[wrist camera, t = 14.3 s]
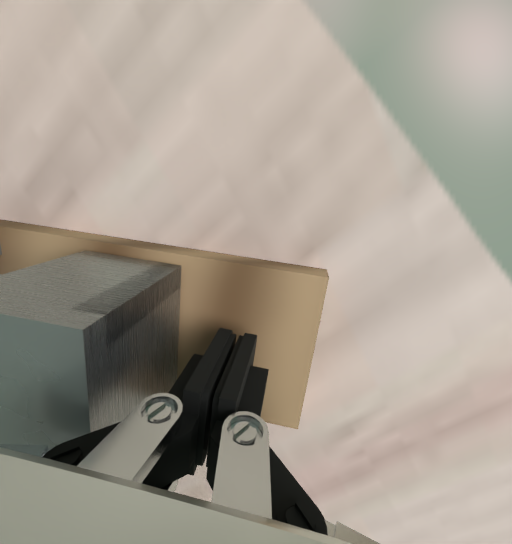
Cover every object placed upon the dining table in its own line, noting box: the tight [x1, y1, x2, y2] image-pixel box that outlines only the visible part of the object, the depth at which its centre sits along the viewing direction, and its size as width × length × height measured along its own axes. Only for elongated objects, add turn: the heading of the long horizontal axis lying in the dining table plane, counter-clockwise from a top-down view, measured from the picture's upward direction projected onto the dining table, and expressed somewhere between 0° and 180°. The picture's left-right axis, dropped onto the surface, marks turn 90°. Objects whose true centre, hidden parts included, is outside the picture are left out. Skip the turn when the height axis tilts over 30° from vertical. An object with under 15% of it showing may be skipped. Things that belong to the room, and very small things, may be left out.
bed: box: [0, 220, 329, 429], centre depth 12 cm, size 20×8×6 cm, turn 83°
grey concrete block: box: [0, 250, 181, 449], centre depth 11 cm, size 4×7×6 cm, turn 173°
